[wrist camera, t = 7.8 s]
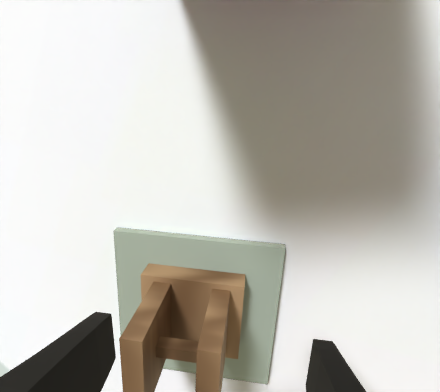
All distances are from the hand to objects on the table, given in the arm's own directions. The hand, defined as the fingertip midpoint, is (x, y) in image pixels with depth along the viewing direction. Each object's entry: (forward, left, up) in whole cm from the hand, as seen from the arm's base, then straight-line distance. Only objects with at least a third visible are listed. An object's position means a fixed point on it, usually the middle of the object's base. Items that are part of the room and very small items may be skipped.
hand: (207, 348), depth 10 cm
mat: (+2, +7, -10) cm, 12 cm away
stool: (+2, +6, -10) cm, 11 cm away
